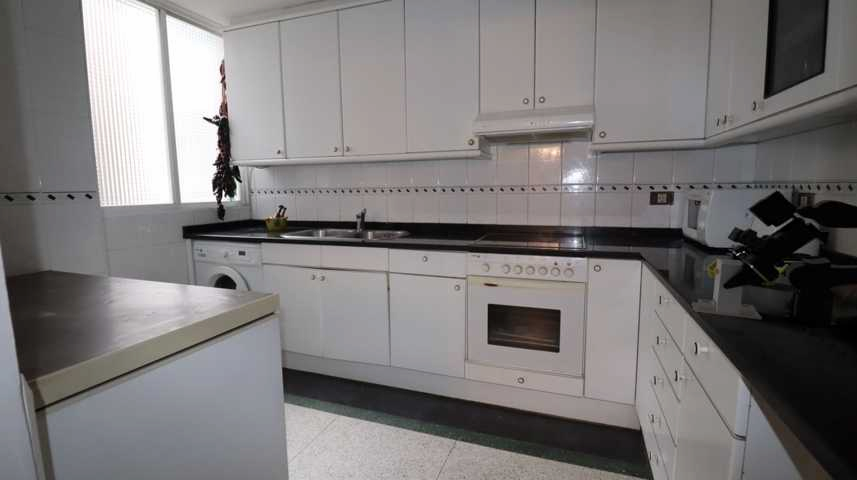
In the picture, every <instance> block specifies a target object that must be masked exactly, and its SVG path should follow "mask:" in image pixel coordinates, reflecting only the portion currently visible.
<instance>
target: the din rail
mask: <svg viewBox="0 0 857 480" xmlns="http://www.w3.org/2000/svg"><path fill="white" fill-rule="evenodd" d="M691 305H692V307H693V310H694V312H696V313H705V314H713V315H720V316H721V315H722V316H727V317H737V318H742V319H743V318H745V319H752V320H762V319H763V317H762V316H761V315H760V314H759V312H758V311H757V310H756V307H755V306H754V305H753V304H748V303H747V304H745V303H741V307H740V315H737V314H729V313H721V312H716V306H717V303H716V301H713V300H709V299H701V298H698V299H697V302H695V301H694V302H693V301H692V302H691Z"/></svg>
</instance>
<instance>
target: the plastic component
mask: <svg viewBox="0 0 857 480" xmlns="http://www.w3.org/2000/svg"><path fill="white" fill-rule="evenodd" d="M717 259H721V258H720V257H718V258H717V257H716V259H715V260H714V261H712V262H711V263H710V264H709V265H708V266H707V267H706V271H707V273H708V276H709V278H711V279H715V275H716V274H714V268H716V265H717ZM774 266H775V268H776V269H777V270H778V271H779V277H780V276H781V275H782V274H783V273H784V272H786V269H787V268H788V266H789V264H788V263H785V265H784V266H782V267H779V266H778V267H777V266H776V265H774ZM764 280H765V281H766V283H760V284H761V285H762V286H765V287H771V286H774V285H775V284H777V283H776V280H774V281H772V282H771V283H770V282H769V281H768V280H767V279H764Z"/></svg>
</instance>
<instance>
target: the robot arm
mask: <svg viewBox="0 0 857 480" xmlns="http://www.w3.org/2000/svg"><path fill="white" fill-rule="evenodd" d="M747 210H748V211H749V212H750V213H751V214H752V215H754V216H755V217H756V218H757V219H758V220H759V221H760V222H761V223H763V224H764V225H765V227H771V226H773V227H775V228H779V227H780V228H779V229H777V230H776V231H774V232H773V233H771V234H763V235H762V236H758V231H757V230H754V229H752V228H746V229H745V230H744V229H741V228H739V227H736V226H734V228H733V229H732V230H731V231H730V233H729V234H728V236H727V239H729V240H730V241H732V242H734V243H736V244H737V243H738V245H736V246H735V247H734V248H732V249H731V250H732V251H731V253H730V254H731V256H730V260H740V261H741V262H742V264H741V269H740V270H739V271H738V272H737V273H736V274H735V275H733V276H732V277H731V278H730V279H729V280H728V281H727V282H726V283H724V284H723V287H724V288H725V289H731V288H736V287H741V286H743V287H745V286H750V285H751V286H752V285H757V284H761V283H766V281H765V280H764V279H767V280H768V281H769V282H770V283H771V282H772V281H774V280H775V281H776V280H777V279H779V278H780V276H779V271H778V270H777V269H776V268H775V266H776V265H777V264H778V263H779V262H781V261H782V260H785V259H786V258H787V259H791V258H793V257H794V255H793V254H794V253H796V252H797V251H798V250H800V249H802V248H803V247H805V246H806V245H808V244H810V243H811V242H814V240H816V241H817V242H818V243H820V244H822V245H827V244H828V243H829V235H830V232H829V231H821V229H819V228H818V227H817V226H815V225H814V224H813V223H812V222H814V223H816V224H818V225H819V226H822V227H825V228H832V229H857V205H854V204H851V203H850V204H849V203H847V202H842V201H839V200H832V199H825V200H821V201H817V202H816V203H815V204H813V205H805V206H803V205H799V206H795V204H793V203H792V201H789V200H788V199H787V198H786V197H785V196H784V194H783V193H782V192H781V191H779V190H775V191H774V192H772V193H770V194H768V195H767V196H766V197H764V198H761V199H759V200H758V201H756V202H755V203H753V204H752V205H751V206H749V208H748V209H747ZM795 214H797V215H798V216H799V217H801V218H803V219H808V220H812V222H811V221H810V222H803V221H802V220H801V219H800V218H799V217H797V215H795ZM789 220H791V221H789ZM788 221H789V222H788ZM786 222H787V223H786ZM782 225H783V226H782ZM781 226H782V227H781ZM785 276H786V279H787V281H788V283H790V285H791V286H792V287H793V288H795V289H796V291H794V292H792V297H791V298H790V302H789V309H788V310H789V311H788V315H784V316H783V318H784V319H787V320H790V321H792V322H795V323H799V324H802V325H804V326H807V327H811V328H821V327H824V328H825V327H837V326H838V323H837V322H833V321H832V319H833V312H834V305H835V304H834V303H835V297H836V296H837V292H836V291H834V289H833V288H836V287H840V286H846V285H857V264H852V265H851V264H848V265H847V264H846V265H841V264H834V263H832V261H831V260H829V259H828V258H827V257H819V258H814V259H807V258H803V257H802V258H801V260H800V261H795V262H792V263H790V265H788V267H787V268H786V270H785Z"/></svg>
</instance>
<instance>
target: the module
mask: <svg viewBox="0 0 857 480" xmlns="http://www.w3.org/2000/svg"><path fill="white" fill-rule="evenodd" d="M716 259H717V258H716ZM741 264H742V262H741V261H740V260H731V259H729V258H728V259H727V258H720V259H717V265H716V268H714V274H716V275H715V278H714V287H713V297H712V301H716V303H717V306H716V312H721V313H729V314H737V315H740V307H741V304H742V297H743V296H742V295H743V288H744V286H741V287H736V288H731V289H725V288H724V287H723V284H724V283H726V282H727V281H728V280H729V279H730V278H731V277H732V276H733V275H735V274H736V273H737V272H738V271H739V270H740V269H741Z"/></svg>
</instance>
